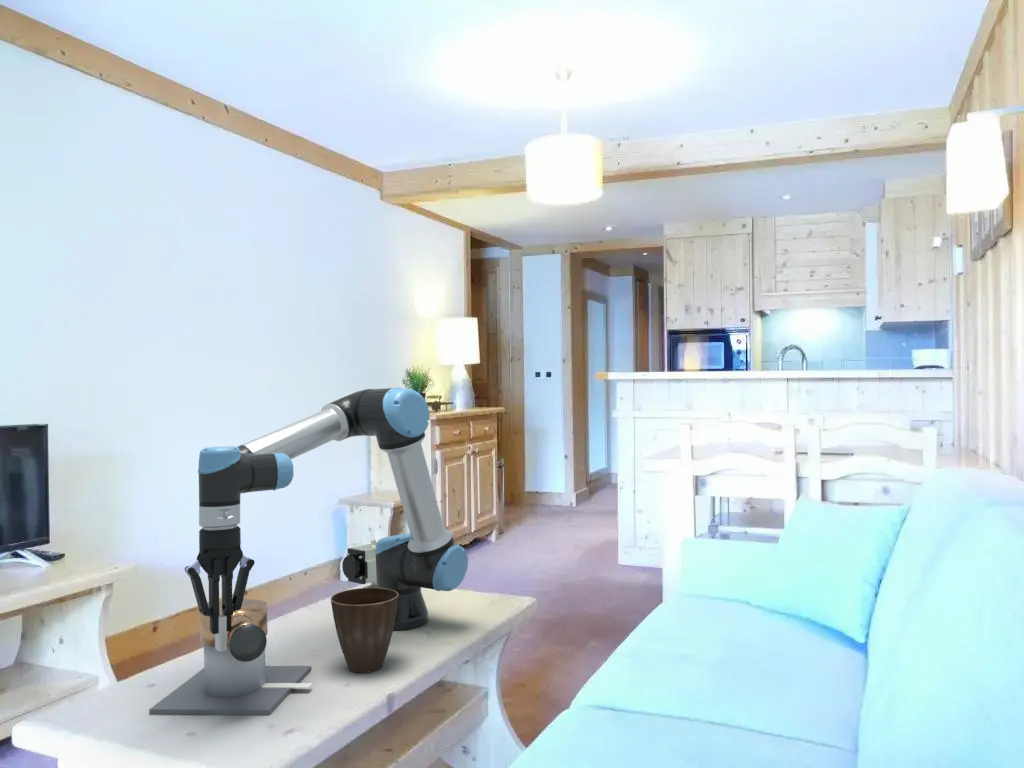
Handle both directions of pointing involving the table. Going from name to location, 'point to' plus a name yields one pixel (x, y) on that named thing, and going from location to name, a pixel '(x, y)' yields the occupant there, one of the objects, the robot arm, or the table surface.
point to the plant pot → (364, 625)
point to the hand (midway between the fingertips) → (220, 649)
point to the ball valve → (361, 565)
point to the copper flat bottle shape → (241, 630)
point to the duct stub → (233, 687)
